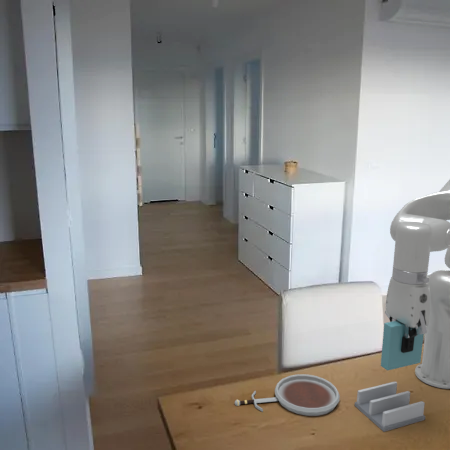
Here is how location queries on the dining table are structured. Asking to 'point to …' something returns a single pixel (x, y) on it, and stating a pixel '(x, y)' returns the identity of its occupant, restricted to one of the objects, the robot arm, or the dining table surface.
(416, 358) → the teal upright slab
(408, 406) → the dish rack
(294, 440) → the dining table surface
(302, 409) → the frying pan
